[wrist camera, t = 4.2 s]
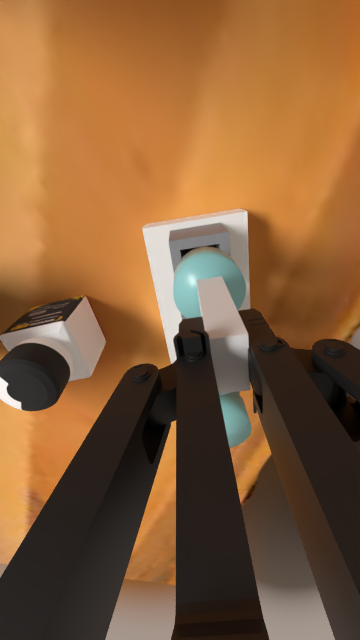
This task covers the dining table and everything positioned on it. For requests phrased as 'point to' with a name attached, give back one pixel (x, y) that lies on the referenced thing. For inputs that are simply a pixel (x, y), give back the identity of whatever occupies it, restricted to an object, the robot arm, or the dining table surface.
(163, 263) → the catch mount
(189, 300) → the knob
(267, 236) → the dining table surface
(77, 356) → the medicine bottle
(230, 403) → the knob
